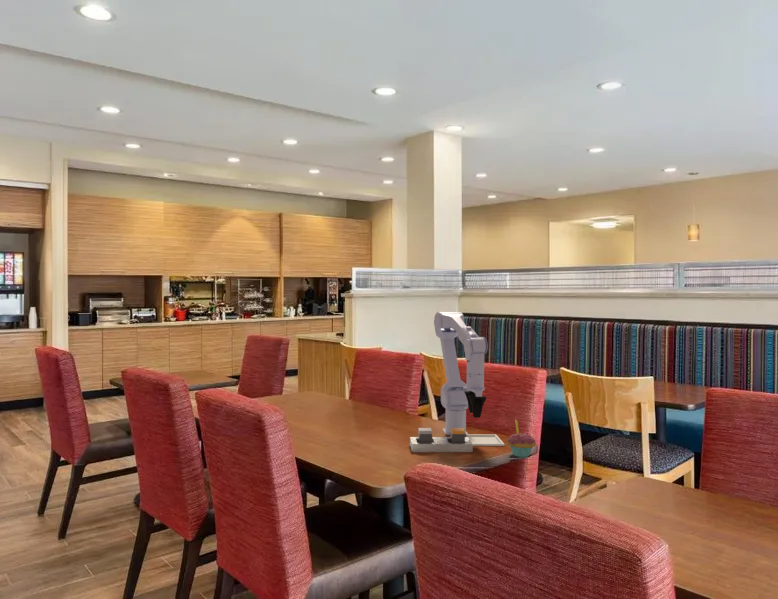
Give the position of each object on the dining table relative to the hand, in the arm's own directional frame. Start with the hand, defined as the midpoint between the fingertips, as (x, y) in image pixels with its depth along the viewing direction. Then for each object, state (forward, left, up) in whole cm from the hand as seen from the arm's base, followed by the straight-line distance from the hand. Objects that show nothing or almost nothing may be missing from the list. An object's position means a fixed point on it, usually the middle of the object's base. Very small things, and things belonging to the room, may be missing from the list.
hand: (474, 414), depth 202 cm
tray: (-3, +4, -10) cm, 11 cm away
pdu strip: (+7, -12, -10) cm, 17 cm away
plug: (+7, -7, -9) cm, 13 cm away
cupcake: (+14, +12, -10) cm, 21 cm away
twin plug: (+7, -17, -9) cm, 20 cm away
